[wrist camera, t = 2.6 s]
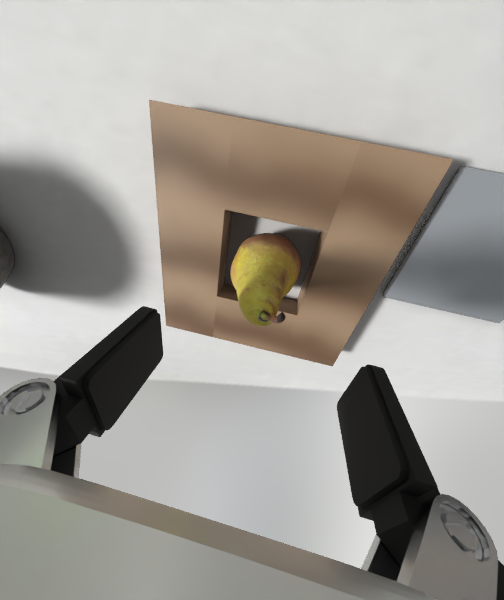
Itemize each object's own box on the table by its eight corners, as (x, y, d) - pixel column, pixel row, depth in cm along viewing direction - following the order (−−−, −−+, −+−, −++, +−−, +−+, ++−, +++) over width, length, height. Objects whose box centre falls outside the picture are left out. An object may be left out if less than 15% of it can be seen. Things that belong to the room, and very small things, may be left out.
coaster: (460, 166, 14) (466, 166, 13) (619, 198, 13) (632, 199, 13) (382, 294, 19) (384, 297, 19) (493, 319, 19) (499, 323, 18)
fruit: (229, 234, 19) (157, 310, 9) (295, 218, 17) (298, 290, 7) (246, 288, 21) (205, 395, 11) (304, 279, 20) (316, 393, 10)
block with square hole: (169, 109, 15) (149, 99, 13) (429, 160, 14) (453, 159, 12) (177, 312, 24) (166, 325, 22) (328, 348, 24) (332, 366, 22)
